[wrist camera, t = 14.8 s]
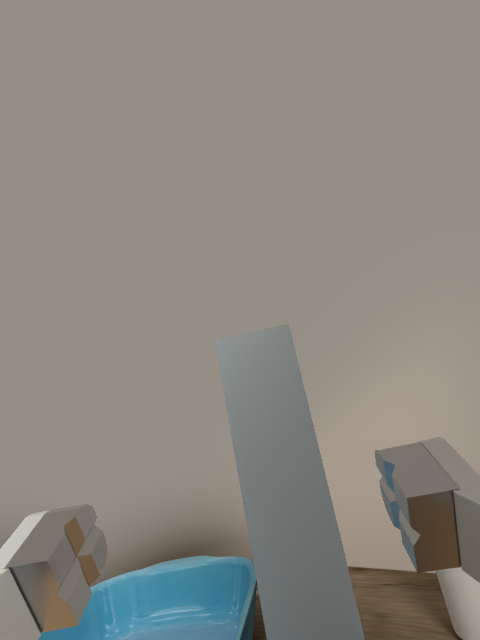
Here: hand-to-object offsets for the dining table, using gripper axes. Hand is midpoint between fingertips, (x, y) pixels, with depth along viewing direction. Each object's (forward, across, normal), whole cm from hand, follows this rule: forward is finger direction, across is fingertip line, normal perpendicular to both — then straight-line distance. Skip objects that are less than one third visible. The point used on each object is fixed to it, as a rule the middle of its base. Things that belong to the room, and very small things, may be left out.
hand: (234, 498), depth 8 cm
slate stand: (+16, 0, +32) cm, 35 cm away
